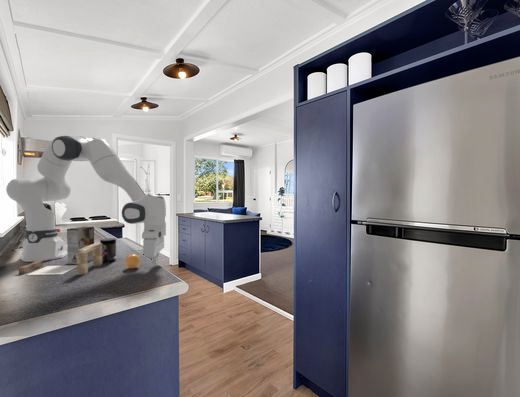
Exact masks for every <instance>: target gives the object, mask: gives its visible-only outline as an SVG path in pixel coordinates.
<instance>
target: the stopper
mask: <svg viewBox="0 0 520 397" xmlns="http://www.w3.org/2000/svg"><path fill="white" fill-rule="evenodd" d="M43 264H44V261H33V262H31V263H29V264H25V265H23V266H20V267H18V275H25V274H26V275H27V274H29V273H32V272H34V271H37V270H39V269H41V268H44V267H43V266H44V265H43Z"/></svg>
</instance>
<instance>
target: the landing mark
mask: <svg viewBox="0 0 520 397" xmlns="http://www.w3.org/2000/svg"><path fill="white" fill-rule="evenodd" d="M74 269H77V264H73V265H72V264H70V265H69V264H68V265H46V266H45V267H41V268H38V269H36V270H33V271H31V272H29V273H26V276H49V275H50V276H51V275H52V276H53V275H57V276H58V275H64V274H66V273H68V272H70V271H72V270H74Z"/></svg>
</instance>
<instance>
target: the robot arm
mask: <svg viewBox="0 0 520 397" xmlns="http://www.w3.org/2000/svg"><path fill="white" fill-rule="evenodd" d="M72 162H90V164H91V166H92V168H93V170H94V172H95V173H96V174H97V176H98V177H99V178H100V179H101V180H102V181H104V182H106V183H109V184H113V185H114V186H117V187H119V188H121V189H122V190H123V191H124V192H126V195H128V197H129V199H131V202H128V203H127V202H126V203H125V204H124V205H123V206H122V210H121V217H122V219H123V221H124V222H126V223H127V224H130V225H135V224H143V227H144V228H143V231H142V233H141V239H143V241H142V242H143V243H142V246H143V248H142V250H143V255H144V256H143V257H144V258H147V259H149V258H151V263H152V265H156V264H157V263H158V262H159V257H160V256H159V255H160V252H161V251H162V250H163V249H164V248H165V236H166V235H167V222H166V215H167V206H166V200H165V198H164V197H163V196H162V195H159V194H153V193H147V194H145V192H144V191H143V189H142V188H141V186H140V185H139V183H138V182H137V181H136V180H135V178H134V177H133V176H132V174H131V173H130V172H129V171H128V169H127V168H126V166H125V165H124V164H123V162H122V160H121V159H120V157H119V156H118V154H117V152H116V151H115V149H114V147H112V146H111V145H110V144H109V142H107V141H106V140H105V139H102V138H95V137H89V136H88V137H87V136H80V135H79V136H77V135H76V136H73V135H72V136H71V135H61V136H60V135H59V136H56V137H54V138H53V139H52V140H51V142H49V144H48V145H47V147H46V148H45V149H44V151H43V153H42V155H41V157H40V159H39V161H38V163H37V165H36V166H37V167H36V168H37V171H38V173H39V174H40V175H41V176H43V177H41V178H38V177H36V178H35V177H23V178H22V177H21V178H12V179H11V180H10V181H9V182H8V184H7V185H6V187H5V188H6V189H5V190H6V194H7V196H8V197H9V198H10V199H11V200H13V201H15V202H16V203H17V204H18V205H19V206H20V207H21V209H22V210H23V212H24V216H25V225H26V226H25V229H26V230H25V232H24V238H25V240H24V241H23V243H22V253H21V256H20V257H19V260H22V262H26V263H27V262H31V263H34V262H36V261H43V262H44V261H50V260H56V259H63V258H64V257H66V256H68V254H67V243H66V242H67V241H65V240H63V239H62V238H61V237H60V236H58V235H59V233H61V231H62V230H61V228H56V214H55V212H54V211H53V210H51V209H49V208H47V207H46V206H44V202H55V201H56V202H57V201H62V200H65V199H67V198H69V197H70V194H71V192H72V191H71V186H70V184H69V183H68V182H67V181H66V174H67V171H68V170H69V168H70V166H71V164H72Z"/></svg>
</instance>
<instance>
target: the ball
mask: <svg viewBox="0 0 520 397" xmlns="http://www.w3.org/2000/svg"><path fill="white" fill-rule="evenodd" d="M124 264H125V267H127V268H129V269H136V268H137V267H138V266H139V265H140V264H141V258H140V256H139V255H137V254H135V253H133V254H132V253H131V254H129V255H127V256H126V258H125V260H124Z"/></svg>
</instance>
